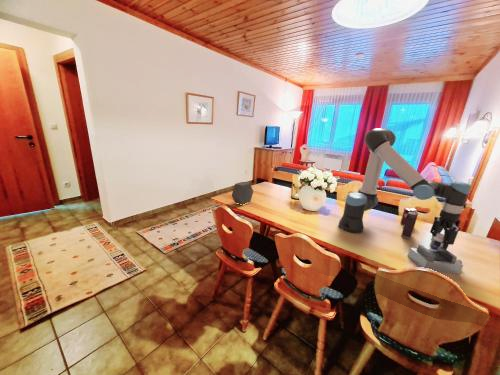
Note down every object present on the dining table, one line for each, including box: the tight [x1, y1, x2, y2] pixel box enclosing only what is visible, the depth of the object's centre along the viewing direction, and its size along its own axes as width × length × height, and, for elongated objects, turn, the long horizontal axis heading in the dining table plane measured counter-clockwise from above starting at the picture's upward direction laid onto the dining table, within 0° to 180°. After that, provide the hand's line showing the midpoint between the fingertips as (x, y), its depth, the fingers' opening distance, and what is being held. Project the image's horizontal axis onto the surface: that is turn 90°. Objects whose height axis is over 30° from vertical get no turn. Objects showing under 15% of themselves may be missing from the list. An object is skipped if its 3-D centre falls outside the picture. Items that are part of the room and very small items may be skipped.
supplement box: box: [400, 210, 419, 240], centre depth 129 cm, size 9×5×16 cm, turn 137°
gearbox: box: [407, 244, 464, 275], centre depth 102 cm, size 20×12×8 cm, turn 85°
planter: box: [231, 181, 254, 206], centre depth 171 cm, size 17×8×21 cm
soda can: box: [400, 207, 418, 226], centre depth 146 cm, size 7×7×12 cm
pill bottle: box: [429, 232, 444, 250], centre depth 112 cm, size 5×5×10 cm
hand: (436, 249), depth 114 cm, fingers closed on pill bottle, 5 cm apart
